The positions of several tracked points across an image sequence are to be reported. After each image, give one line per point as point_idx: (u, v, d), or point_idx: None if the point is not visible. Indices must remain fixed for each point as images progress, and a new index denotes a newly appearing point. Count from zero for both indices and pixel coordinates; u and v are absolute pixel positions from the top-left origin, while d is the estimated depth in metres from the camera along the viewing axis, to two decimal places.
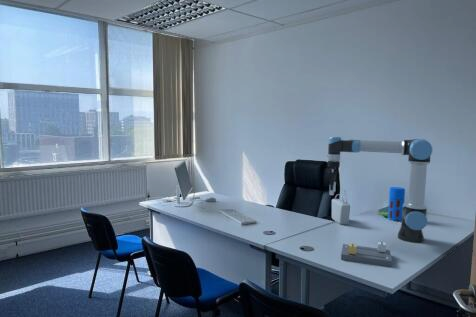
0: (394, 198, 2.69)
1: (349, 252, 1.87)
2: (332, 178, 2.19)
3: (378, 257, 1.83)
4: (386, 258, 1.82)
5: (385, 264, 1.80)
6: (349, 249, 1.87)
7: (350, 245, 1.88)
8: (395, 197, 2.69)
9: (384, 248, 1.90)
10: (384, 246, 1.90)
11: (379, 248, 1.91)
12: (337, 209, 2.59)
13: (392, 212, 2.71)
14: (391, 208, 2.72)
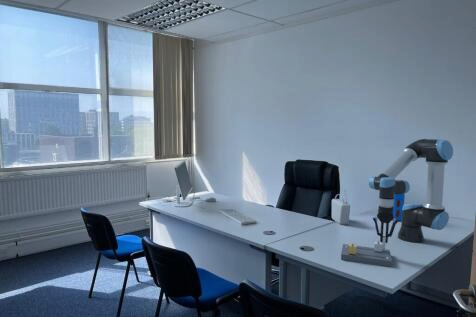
0: (394, 198, 2.69)
1: (349, 252, 1.87)
2: (376, 228, 1.93)
3: (378, 257, 1.83)
4: (386, 258, 1.82)
5: (385, 264, 1.80)
6: (349, 249, 1.87)
7: (350, 245, 1.88)
8: (395, 197, 2.69)
9: (381, 248, 1.91)
10: (381, 246, 1.91)
11: (376, 248, 1.92)
12: (337, 209, 2.59)
13: None
14: None
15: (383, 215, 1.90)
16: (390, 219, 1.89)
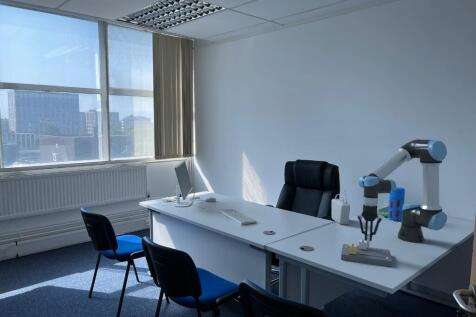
0: (394, 198, 2.69)
1: (349, 252, 1.87)
2: (360, 226, 1.96)
3: (378, 257, 1.83)
4: (386, 258, 1.82)
5: (385, 264, 1.80)
6: (349, 249, 1.87)
7: (350, 245, 1.88)
8: (395, 197, 2.69)
9: (365, 246, 1.93)
10: (365, 244, 1.93)
11: (360, 246, 1.94)
12: (337, 209, 2.59)
13: (392, 212, 2.71)
14: (391, 208, 2.72)
15: (367, 213, 1.93)
16: (374, 217, 1.92)
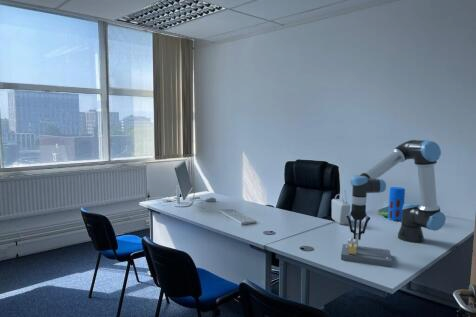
0: (394, 198, 2.69)
1: (349, 252, 1.87)
2: (349, 225, 1.98)
3: (378, 257, 1.83)
4: (386, 258, 1.82)
5: (385, 264, 1.80)
6: (349, 249, 1.87)
7: (350, 245, 1.88)
8: (395, 197, 2.69)
9: None
10: (354, 242, 1.95)
11: None
12: (337, 209, 2.59)
13: (392, 212, 2.71)
14: (391, 208, 2.72)
15: (356, 212, 1.95)
16: (363, 216, 1.94)
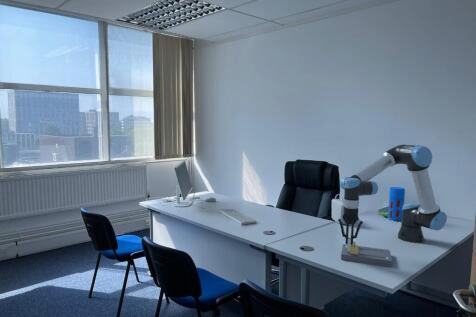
0: (394, 198, 2.69)
1: (351, 252, 1.87)
2: (341, 230, 1.90)
3: (378, 257, 1.83)
4: (386, 258, 1.82)
5: (385, 264, 1.80)
6: (351, 249, 1.86)
7: (352, 245, 1.88)
8: (395, 197, 2.69)
9: None
10: (354, 242, 1.95)
11: None
12: (337, 209, 2.59)
13: (392, 212, 2.71)
14: (391, 208, 2.72)
15: (348, 216, 1.87)
16: (355, 220, 1.86)
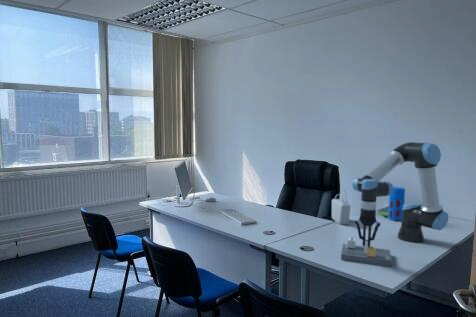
0: (394, 198, 2.69)
1: (368, 255, 1.84)
2: (358, 231, 1.87)
3: (378, 257, 1.83)
4: (386, 258, 1.82)
5: (385, 264, 1.80)
6: (368, 252, 1.84)
7: (369, 247, 1.85)
8: (395, 197, 2.69)
9: (354, 244, 1.95)
10: (354, 242, 1.95)
11: (349, 244, 1.96)
12: (337, 209, 2.59)
13: (392, 212, 2.71)
14: (391, 208, 2.72)
15: (365, 218, 1.84)
16: (372, 222, 1.83)
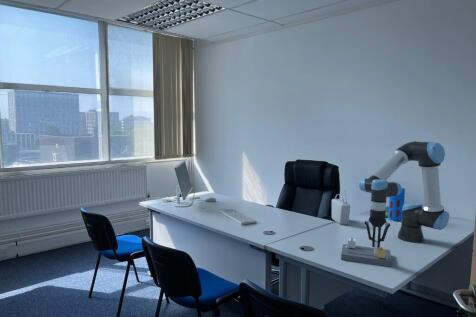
0: (394, 198, 2.69)
1: (378, 256, 1.82)
2: None
3: None
4: (386, 258, 1.82)
5: (385, 264, 1.80)
6: (378, 253, 1.82)
7: (379, 249, 1.83)
8: (395, 197, 2.69)
9: (354, 244, 1.95)
10: (354, 242, 1.95)
11: (349, 244, 1.96)
12: (337, 209, 2.59)
13: (392, 212, 2.71)
14: (391, 208, 2.72)
15: (375, 219, 1.83)
16: (382, 223, 1.81)
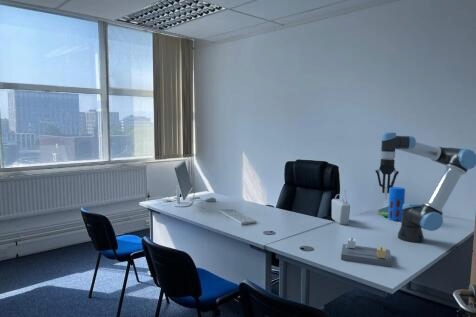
0: (394, 198, 2.69)
1: (378, 256, 1.82)
2: (378, 180, 2.07)
3: None
4: (386, 258, 1.82)
5: (385, 264, 1.80)
6: (378, 253, 1.82)
7: (379, 249, 1.83)
8: (395, 197, 2.69)
9: (354, 244, 1.95)
10: (354, 242, 1.95)
11: (349, 244, 1.96)
12: (337, 209, 2.59)
13: (392, 212, 2.71)
14: (391, 208, 2.72)
15: (385, 167, 2.04)
16: (391, 170, 2.03)
